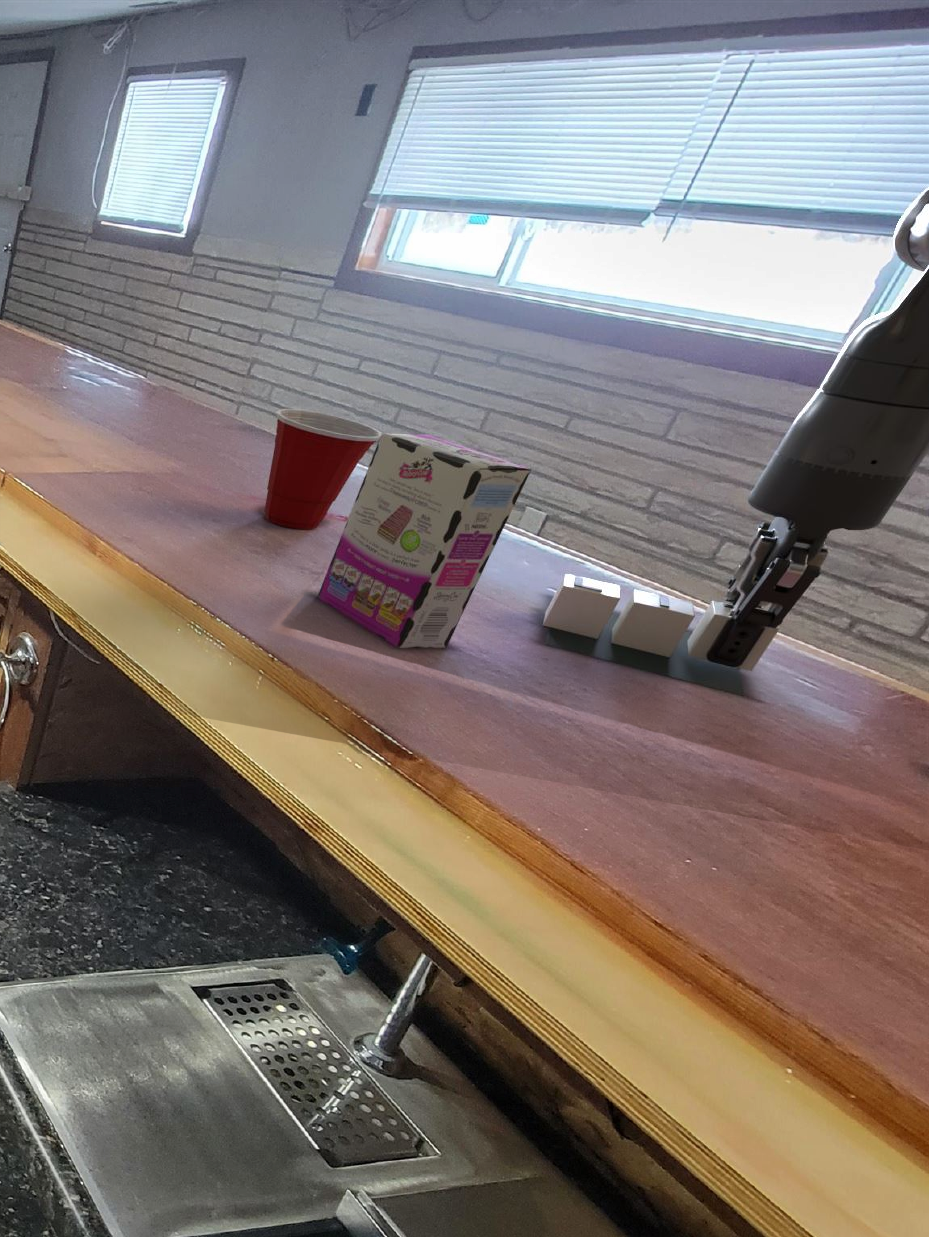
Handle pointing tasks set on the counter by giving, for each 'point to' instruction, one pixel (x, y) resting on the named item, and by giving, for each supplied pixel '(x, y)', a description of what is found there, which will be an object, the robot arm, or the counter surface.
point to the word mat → (650, 658)
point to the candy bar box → (420, 537)
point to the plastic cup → (312, 465)
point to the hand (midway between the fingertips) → (720, 653)
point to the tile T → (712, 627)
